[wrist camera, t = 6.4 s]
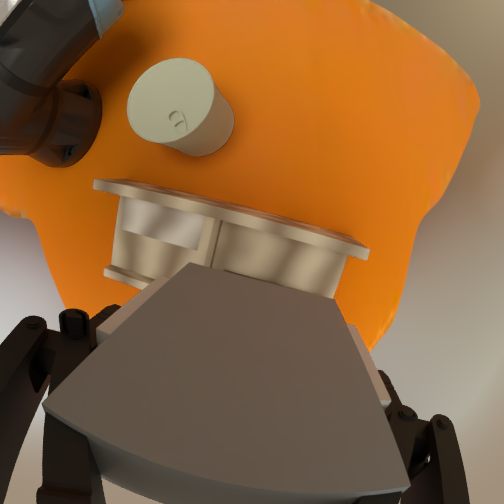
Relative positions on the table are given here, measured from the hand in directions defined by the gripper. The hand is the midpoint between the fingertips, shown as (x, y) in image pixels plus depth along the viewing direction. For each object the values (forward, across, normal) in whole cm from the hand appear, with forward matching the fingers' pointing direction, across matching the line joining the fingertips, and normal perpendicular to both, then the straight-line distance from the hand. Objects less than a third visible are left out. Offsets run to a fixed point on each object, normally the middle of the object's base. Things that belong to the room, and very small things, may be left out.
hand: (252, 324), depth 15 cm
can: (+22, -12, +14) cm, 29 cm away
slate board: (+3, 0, 0) cm, 3 cm away
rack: (+21, -6, -3) cm, 22 cm away
